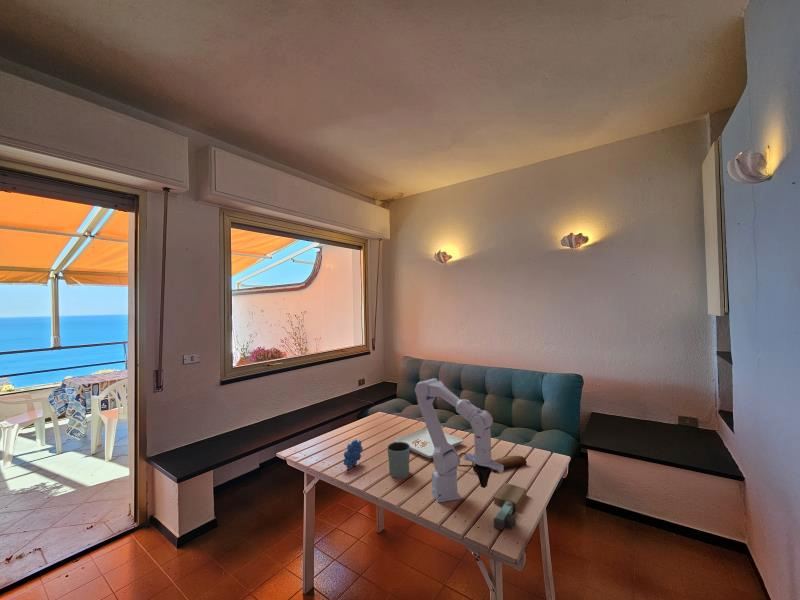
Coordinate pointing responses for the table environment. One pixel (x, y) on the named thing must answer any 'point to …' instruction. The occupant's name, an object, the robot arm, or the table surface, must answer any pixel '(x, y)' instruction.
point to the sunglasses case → (511, 461)
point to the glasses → (467, 465)
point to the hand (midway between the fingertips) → (484, 486)
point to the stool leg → (503, 515)
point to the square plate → (425, 436)
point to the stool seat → (512, 495)
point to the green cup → (398, 459)
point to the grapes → (352, 453)
